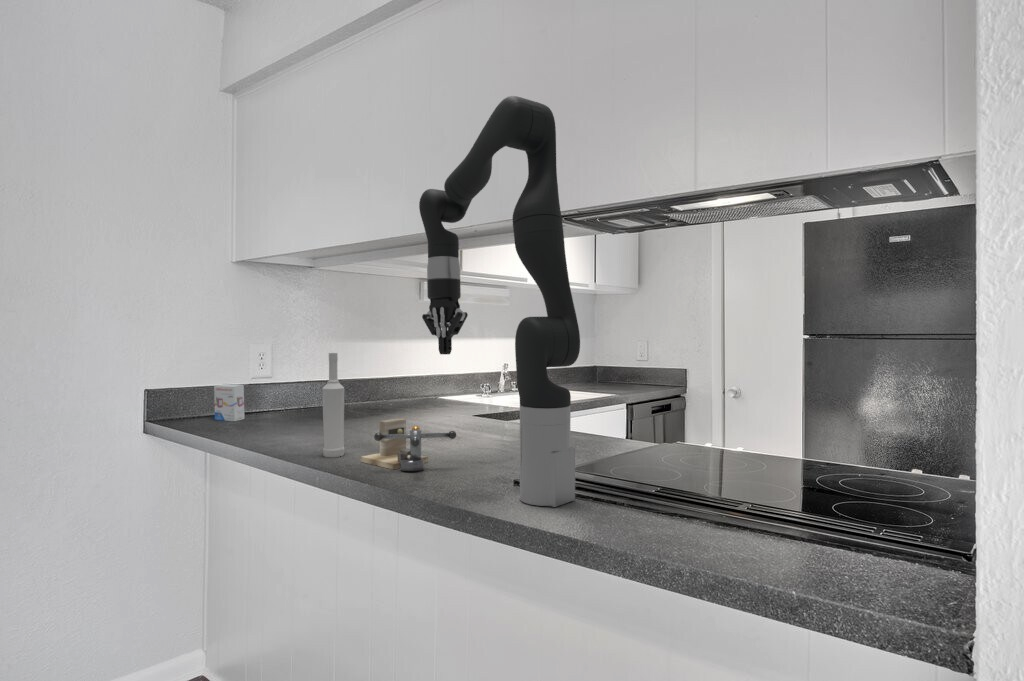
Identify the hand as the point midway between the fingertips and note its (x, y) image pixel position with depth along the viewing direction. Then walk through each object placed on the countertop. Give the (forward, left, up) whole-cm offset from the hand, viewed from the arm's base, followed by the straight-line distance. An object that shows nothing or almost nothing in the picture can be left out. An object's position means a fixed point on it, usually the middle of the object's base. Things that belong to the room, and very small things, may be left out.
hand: (445, 354), depth 144 cm
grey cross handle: (0, +8, -25) cm, 26 cm away
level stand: (+9, +6, -25) cm, 27 cm away
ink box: (+104, +1, -25) cm, 107 cm away
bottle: (+27, +11, -25) cm, 39 cm away
